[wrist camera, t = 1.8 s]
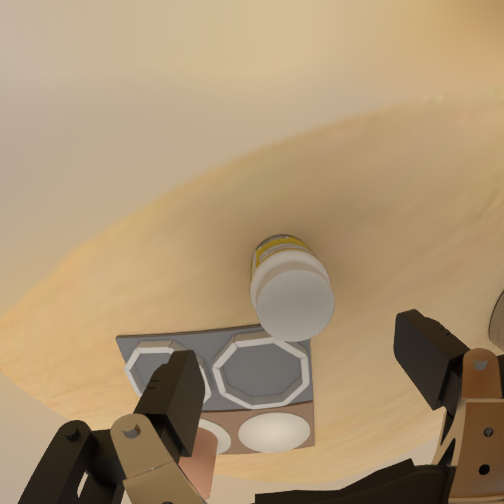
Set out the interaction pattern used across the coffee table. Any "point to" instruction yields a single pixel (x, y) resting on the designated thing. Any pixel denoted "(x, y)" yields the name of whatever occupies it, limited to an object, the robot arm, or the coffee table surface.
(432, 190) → the coffee table surface
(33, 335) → the coffee table surface
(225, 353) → the board
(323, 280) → the supplement bottle
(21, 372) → the coffee table surface
